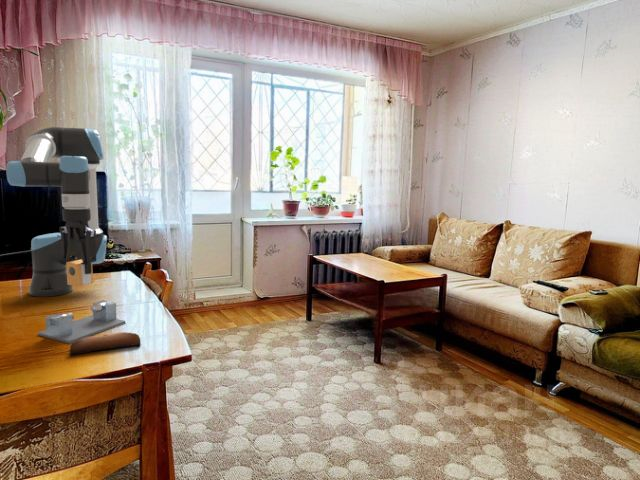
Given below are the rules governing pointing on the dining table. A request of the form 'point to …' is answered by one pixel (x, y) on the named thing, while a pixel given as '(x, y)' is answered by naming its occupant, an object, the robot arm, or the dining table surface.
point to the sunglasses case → (104, 342)
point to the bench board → (85, 329)
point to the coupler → (75, 273)
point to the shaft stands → (62, 323)
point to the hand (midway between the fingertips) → (80, 282)
